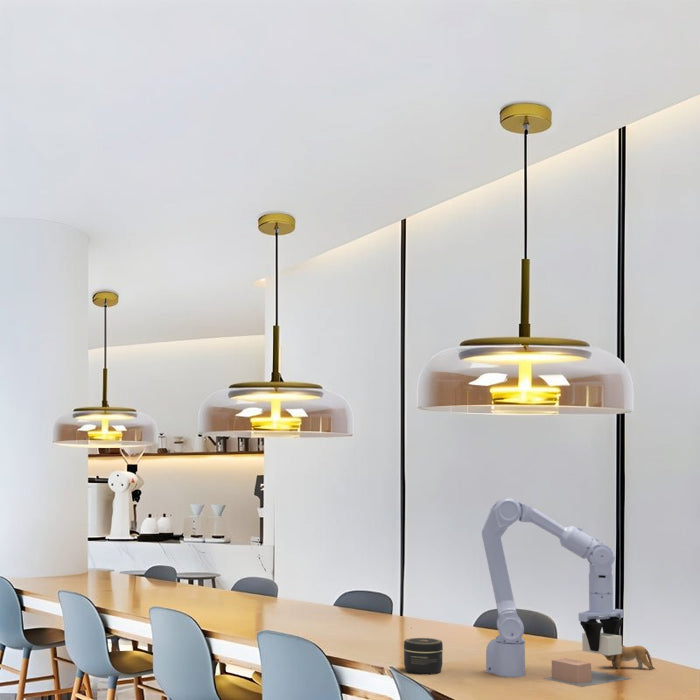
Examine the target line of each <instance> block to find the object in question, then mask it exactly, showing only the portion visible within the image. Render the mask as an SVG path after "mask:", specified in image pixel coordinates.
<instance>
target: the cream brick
mask: <svg viewBox="0 0 700 700" xmlns="http://www.w3.org/2000/svg"><path fill="white" fill-rule="evenodd" d="M581 634H582V635H581V636H582V637H581V638H582V640H581V641H582V642H581V643H582V646H581V647H582V651H583V652H586V653H592V654H599V655H602V654H603V655H602V656H604V655H608V656H609V655H616V654H622V645H623V644H622V639H623V638H622V635H618V634H617V635H613V634H607V633H603V632H601V633H600V644H599V651H592V650H590V647H589V643H588V639H587V636H586V633H585V632H583V633H581Z"/></svg>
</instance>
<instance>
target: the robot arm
mask: <svg viewBox="0 0 700 700" xmlns="http://www.w3.org/2000/svg"><path fill="white" fill-rule="evenodd" d="M517 521H519V522H521V523H532V524H534V525H535V526H537V527H538V528H539V527H540V528H541V529H543V530H545V531H546V532H548V533H550V534H552V535H553V536H555V537H556V538H558V539H559V543H560V545H561V547H563V548H565V549H566V550H568V551H569V552H571V553H573V554H575V555H576V556H578V557H579V558H581V559H583V560H584V559H587V561H588V563H589V564H588V565H589V569H588V570H589V573H588V601H589V602H588V606H589V607H588V608H589V609H588V610H585V611H582V612H578V622H580V623H579V624H580V625H581V627H582V629H583V631H584V633H586V636H587V639H588V643H589V647H590V650H592V651H599V644H600V633H607V634H613V635H618V633H619V630H620V628H621V626H622V625H623V619H622V618H624V609H619V608H614V590H613V589H614V588H613V587H614V586H613V583H614V582H613V568H612V566H613V563H614V561H615V556H614V553H613V551H612V549H611V547H609V546H608V545H606V544H604V543H603V542H600V539H599V538H598V537H592V536H590V535H589V534H587V533H586V532H584V531H583V528H582V527H580V526H577V527H575V526H574V525H570V526H567V527H566V526H563V525H562V524H560V523H559V522H557V521H555V520H554V519H552V518H550V517H549V516H548V515H546V514H544V513H542V512H541V511H540V510H538V509H536V508H535V507H533V506H531V505H528V504H526V503H523V502H521V501H517V500H516V499H514V498H511V497H508V496H507V497H505V496H504V497H502V498H500V499H498V500H497V501H496V502H495V504H493V506H491V508H490V510H489V513H488V515H487V517H486V520H485V522H484V525H483V527H482V530H481V537H482V542H483V547H484V551H485V556H486V560H487V565H488V571H489V575H490V580H491V581H490V582H491V584H492V590H493V594H494V599H495V605H496V609H497V619H496V629H497V631H498V635H497V636H495V638H494V639H491V640H490V641H489V642H488V643H487V646H486V649H485V650H486V651H485V654H486V655H485V656H486V657H485V658H486V659H485V660H486V662H485V663H486V664H485V666H486V667H485V668H486V669H485V670H486V673H489V674H492V675H497V676H499V677H502V678H503V677H504V678H522V677H526V639H524V638H523V636H524V633H525V626H524V623H523V621H522V619H521V617H520V616H519V614H518V611H517V607H516V602H515V600H514V599H515V598H514V596H513V590H512V585H511V582H510V576H509V570H508V565H507V560H506V557H505V552H504V547H503V541H502V537H503V535H504V533H505V532H506V531H507V530H508V528H509V527H510V526H512V525H514V523H516V522H517ZM598 621H599V622H598Z"/></svg>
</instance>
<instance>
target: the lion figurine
mask: <svg viewBox="0 0 700 700" xmlns="http://www.w3.org/2000/svg"><path fill="white" fill-rule="evenodd" d="M601 656H604V657H605V658H606V660H607V661H608V662H609V661H610V662H611V664H612V667H613V668H616V670H620V669H621V664H622V662H631V661H634V660H636V662H637V664H638V665H637V666H638V667H637V668H638V669H642V668H643V665H644V666H645V667H647V669H648V671H652V670H656V668H655V667H654V666H653V661H652V657H651V655H650V653H649V651H648V649H647V648H646V647H644V646H642V645H634V646H625V645H623V644H622V654H616V655H609V656H608V655H603V654H601Z"/></svg>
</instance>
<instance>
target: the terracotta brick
mask: <svg viewBox="0 0 700 700" xmlns="http://www.w3.org/2000/svg"><path fill="white" fill-rule="evenodd" d="M591 671H592V663H591V662H588V661H582V660H577V659H572V658H566V657H565V658H559V659H558V658H556V659H551V677H552V678H554V679H558V680H563V681H568V682H572V683H577V684H578V683H585V682H591Z"/></svg>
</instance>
